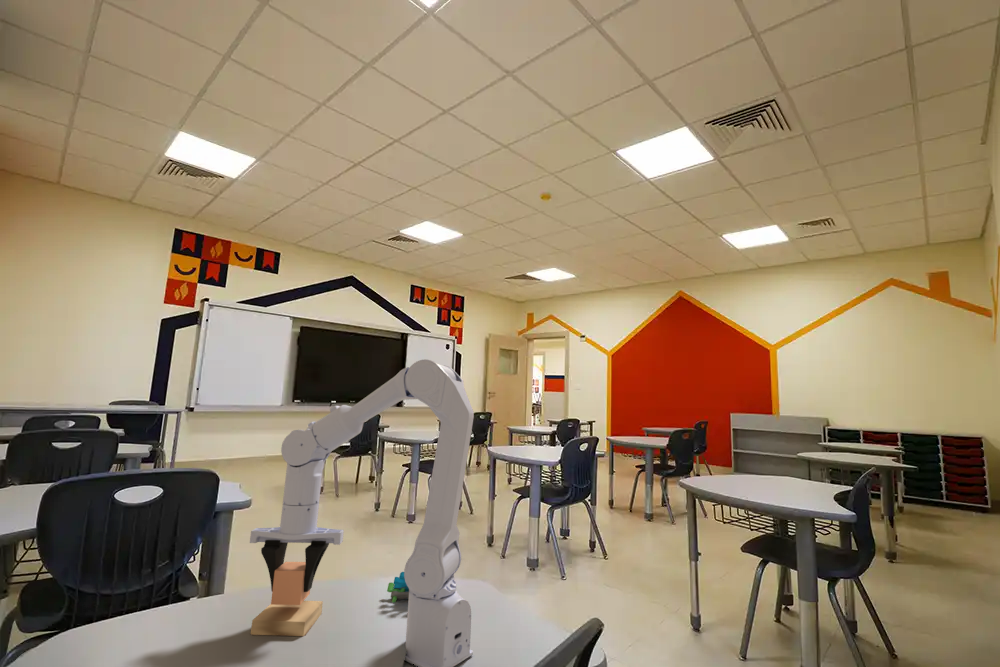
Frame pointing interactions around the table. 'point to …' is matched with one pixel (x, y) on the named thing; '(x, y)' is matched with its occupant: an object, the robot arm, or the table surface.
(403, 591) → the gear
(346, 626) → the table surface
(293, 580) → the block
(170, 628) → the table surface
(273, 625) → the tower top
